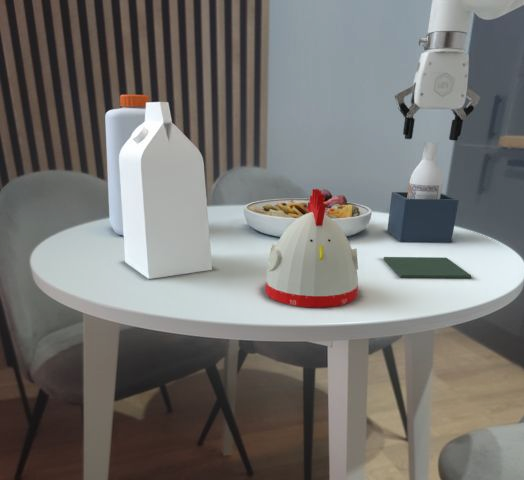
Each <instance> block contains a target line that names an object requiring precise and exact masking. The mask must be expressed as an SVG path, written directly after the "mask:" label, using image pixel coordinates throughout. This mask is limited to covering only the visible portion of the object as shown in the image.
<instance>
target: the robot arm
mask: <svg viewBox="0 0 524 480" xmlns="http://www.w3.org/2000/svg"><path fill="white" fill-rule="evenodd" d="M522 6H524V0H431V6H430V7H431V8H430V14H429V21H428V27H427V34H426V35H425V36H424V37H420V38H419V41H418V46H420V47H423V50H424V52H422V53H421V54H420V57H419V60H418V64H417V66H416V70H415V75H414V79H413V84H412V85H410V86H408V87H406V88H405V89H403V90H401V91H398V92H397V93H396V94H395V95H394V99H395V103H396V106H397V109H398V110H399V112H400V113H401V114H402V116H403V118H404V124H403V131H402V135H403V136H404V140H411V139H413V134H414V128H415V120H416V119H415V118H414V115H415V114H416V113H418V111H419V110H420V109H423V110H425V109H427V110H450V111H451V113H452V115H453V116H454V119H452V120H451V124H450V131H449V137H448V139H449V141H455V142H457V141H458V140H459V137H460V136H461V134H462V128H463V122H464V120H465V119H466V118H467V117H468V116H469V115H470V114H471V113H472V112H473V111H474V109H475V108H476V106H477V104H478V103H479V102H480V100H481V96H480V95H478V94H477V93H476V92H474V91H473V90H471V89H470V88H469V87H468V82H469V69H470V65H469V64H470V55H469V53H468V52H466V47H467V46H466V45H467V40H468V33H469V27H470V22H471V15H472V12H474V14H475V15H476V16H477V17H478V18H480V19H482V20H485V21H491V20H495V19H498V18H500V17H503V16H505V15H506V14H509V13H511V12H512V11H515V10H516V9H518V8H521V7H522ZM408 96H410V106H409V107H408V106H407V104H406V102H405V97H408ZM466 99H468V100H469V102H467V103H468V104H467V105H466V106H465V103H466ZM464 106H465V107H464Z"/></svg>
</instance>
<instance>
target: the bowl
mask: <svg viewBox="0 0 524 480" xmlns="http://www.w3.org/2000/svg"><path fill="white" fill-rule="evenodd" d="M319 191H321V194H324V204H323V205H326V207H325V215H327V216H328V217H330V218H331V219H332V220H334V221H335V222H336V223H337V224H338V226H339V227H340V228H341V229H342V231H343V232H344V234H345V236H346V238H347V237H350V236H354V235H357V234H359V233H360V232H363V230H365V229H366V228H367V227H368V225H369V223H370V221H371V219H372V209H371V208H370V207H368V206H366V205H363V204H359V203H355V202H349V201H348V200H347V198H346V196H345V195H343V194H337V195H334V196H333V195H332V193H331V191H330V190H328V189H325V188H323V189H319ZM308 202H310V198H272V199H264V200H257V201H253V202H249V203H246V204H245V205H244V206H243V215H244V219H245V221H246V223H248V225H249V226H250V227H251V228H252V229H254V230H256V231H257V232H259V233H262V234H265V235H269V236H273V237H279V238H280V237H281V236H282V234H283V233H284V232H285V230H286V229H287V228H288V227H289V226H290V225H291V224H292V223H293V222H294V221H295V220H297V219H298V218H299V217H301V216H303V215H305V214H307V213H308Z"/></svg>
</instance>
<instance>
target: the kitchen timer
mask: <svg viewBox="0 0 524 480" xmlns="http://www.w3.org/2000/svg"><path fill="white" fill-rule="evenodd" d="M311 190H312V191H311V195H309V199H310V202H308V213H307V214H305V215H303V216H301V217H299V218H298V219H297V220H295V221H294V222H293V223H292V224H291V225H290V226H289V227H288V228H287V229H286V230H285V232H284V233H283V234H282V236H281V237H279V239H278V240H277V243H276V244H274V243H273V244H272V245H271V247H270V251H269V257H268V262H267V266H266V267H267V270H266V271H267V272H266V278H265V294H266V295H267V297H268V298H270V299H272V300H273V301H276V302H278V303H282V304H284V305H288V306H289V305H290V306H294V307H299V308H300V307H302V308H330V307H331V308H332V307H339V306H342V305H346V304H349V303H351V302H353V301H355V300H356V298H357V296H358V288H359V276H358V270H359V263H358V249H357V248H356V247H355V248H352V246H351V244H350V242H349V239H348V238H347V237H346V236H345V234H344V232H343V231H342V229H341V228H340V227H339V226H338V224H337V223H336V222H335V221H334V220H332V219H331V218H330V217H328V216H327V215H325V207H326V205H323V204H324V194H321V191H319V190H320V189H319V188H312V189H311Z"/></svg>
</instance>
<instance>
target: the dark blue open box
mask: <svg viewBox="0 0 524 480" xmlns="http://www.w3.org/2000/svg"><path fill="white" fill-rule="evenodd" d="M407 196H408V191H391V197H390V203H389V204H390V205H389V211H388V222H387V229H386V231H387V232H388V233H389V234H390V235H391V236H392V237H393V238H395V239H396V240H397V241H398V242H400V243H452V242H453V236H454V235H453V234H454V229H455V225H456V219H457V212H458V207H459V201H460V200H459V199H457V198H455V197H452V196H450V195H448V194H446V193H445V194H444V193H442V192H441V196H440V199H407Z"/></svg>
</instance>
